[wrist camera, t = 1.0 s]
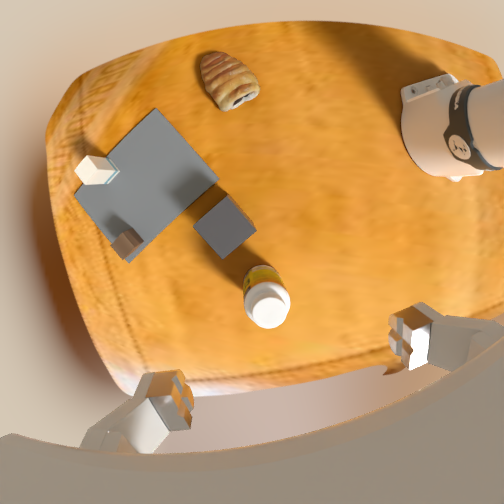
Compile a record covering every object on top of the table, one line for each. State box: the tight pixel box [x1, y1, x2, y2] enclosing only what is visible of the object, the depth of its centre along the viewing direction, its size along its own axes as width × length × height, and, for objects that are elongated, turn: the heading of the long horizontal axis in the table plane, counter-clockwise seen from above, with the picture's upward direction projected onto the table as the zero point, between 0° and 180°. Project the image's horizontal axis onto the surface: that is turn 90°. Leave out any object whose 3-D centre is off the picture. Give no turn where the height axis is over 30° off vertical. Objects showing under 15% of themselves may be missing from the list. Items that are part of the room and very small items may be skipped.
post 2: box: [110, 228, 144, 260], centre depth 35 cm, size 3×3×4 cm
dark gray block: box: [193, 194, 257, 260], centre depth 35 cm, size 5×5×7 cm
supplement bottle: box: [243, 265, 290, 328], centre depth 35 cm, size 6×6×10 cm
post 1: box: [74, 155, 120, 185], centre depth 31 cm, size 3×3×7 cm
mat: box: [74, 108, 219, 263], centre depth 36 cm, size 18×14×1 cm
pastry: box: [200, 52, 260, 111], centre depth 31 cm, size 9×7×4 cm
